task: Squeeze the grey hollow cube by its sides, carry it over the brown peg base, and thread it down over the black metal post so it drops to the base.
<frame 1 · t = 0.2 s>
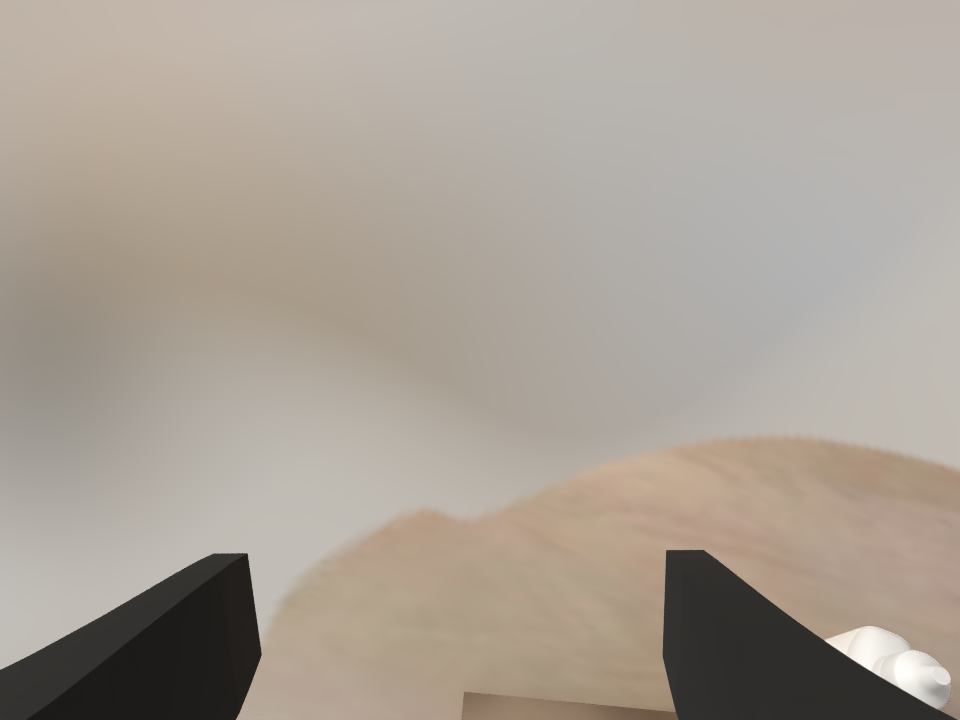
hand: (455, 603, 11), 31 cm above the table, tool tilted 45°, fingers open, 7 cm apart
eye dropper bottle: (815, 699, 37), on the table
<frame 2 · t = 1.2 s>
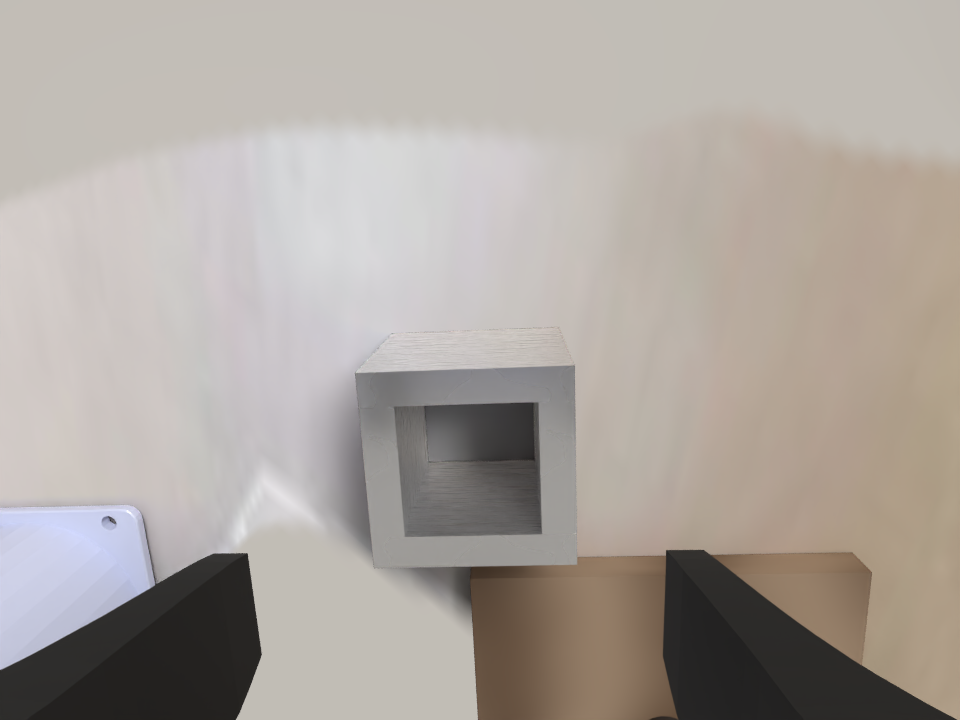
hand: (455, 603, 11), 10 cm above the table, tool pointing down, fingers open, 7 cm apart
brown peg base: (655, 713, 23), on the table
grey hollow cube: (478, 410, 21), on the table
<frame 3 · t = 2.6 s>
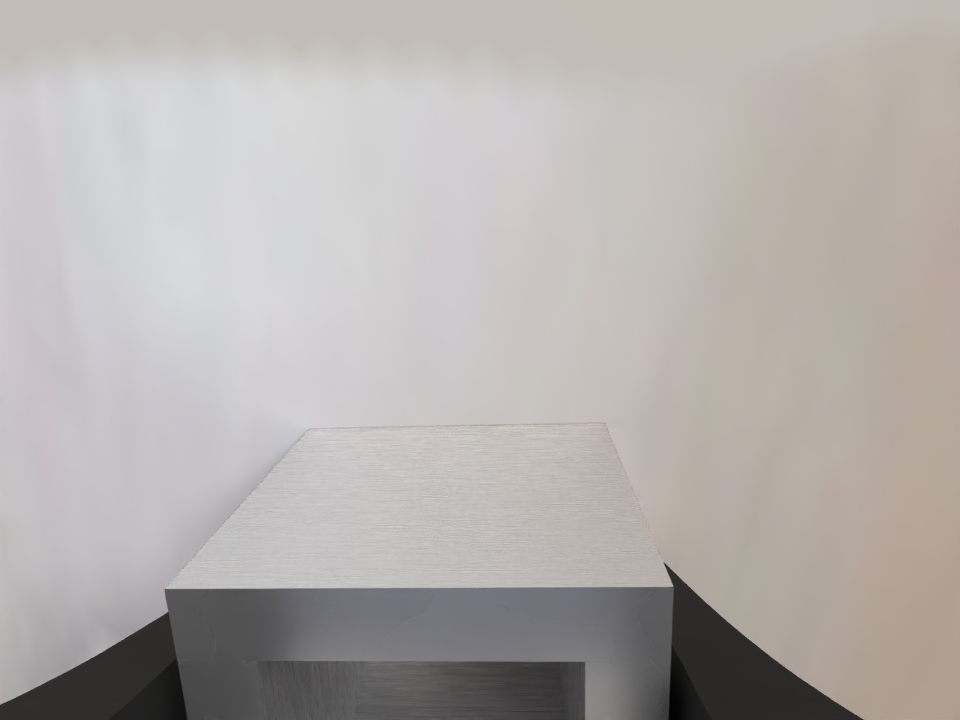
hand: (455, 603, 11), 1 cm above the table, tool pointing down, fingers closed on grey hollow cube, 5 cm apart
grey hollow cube: (462, 559, 12), on the table, touching gripper
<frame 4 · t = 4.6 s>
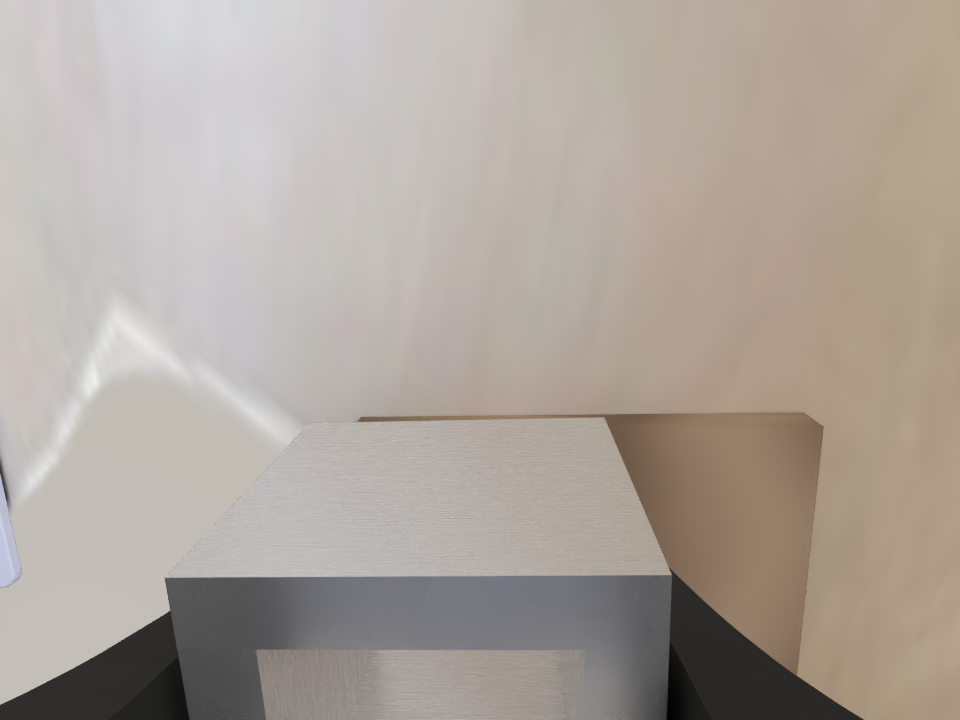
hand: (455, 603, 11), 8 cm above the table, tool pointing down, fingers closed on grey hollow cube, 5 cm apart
brown peg base: (576, 607, 20), on the table
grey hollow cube: (461, 553, 12), point 7 cm above the table, touching gripper
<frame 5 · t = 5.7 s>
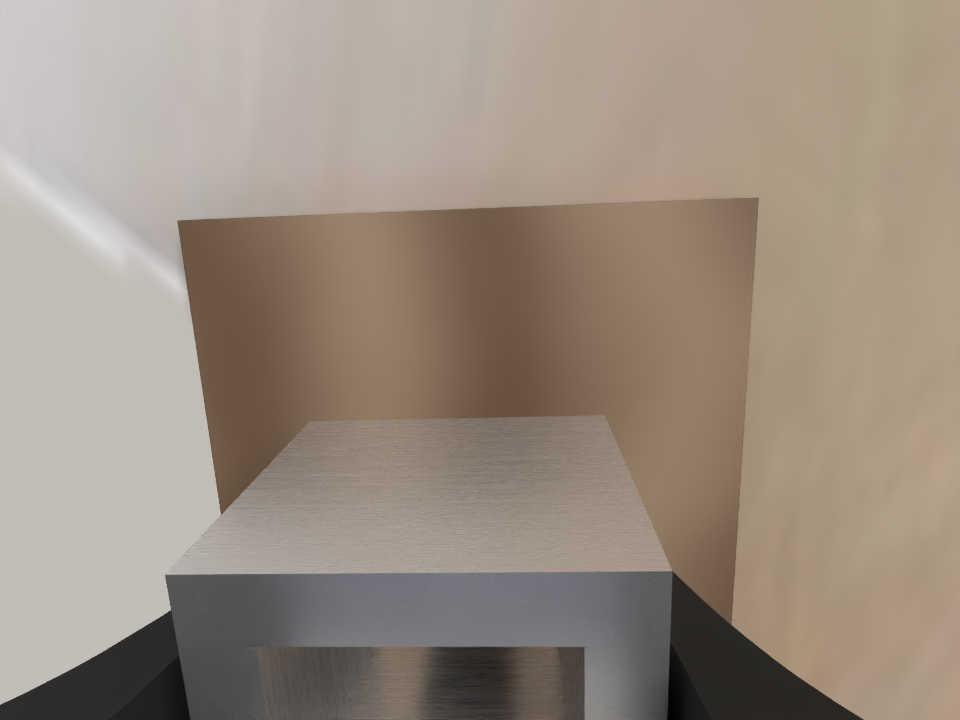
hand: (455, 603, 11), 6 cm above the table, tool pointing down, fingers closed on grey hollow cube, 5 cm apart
brown peg base: (475, 460, 17), on the table
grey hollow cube: (461, 551, 12), point 5 cm above the table, touching gripper
when the fingers open (4 cm above the table, at t = 6.7 s): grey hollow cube drops 1 cm, resting on brown peg base.
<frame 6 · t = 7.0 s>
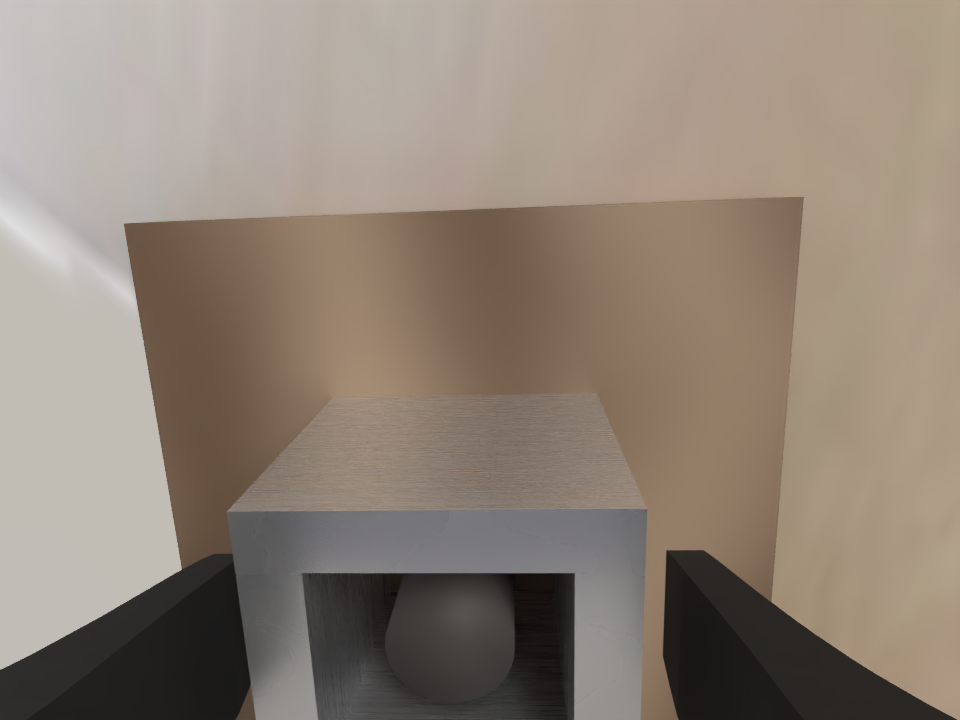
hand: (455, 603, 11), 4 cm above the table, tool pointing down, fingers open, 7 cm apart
brown peg base: (471, 496, 15), on the table
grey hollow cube: (468, 515, 14), point 1 cm above the table, touching brown peg base
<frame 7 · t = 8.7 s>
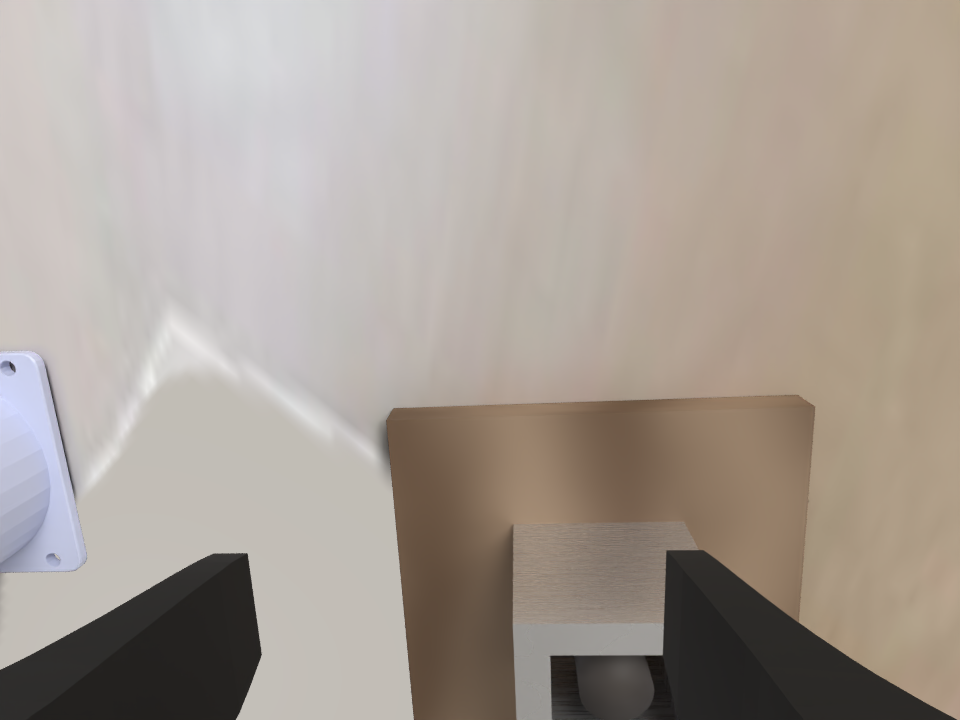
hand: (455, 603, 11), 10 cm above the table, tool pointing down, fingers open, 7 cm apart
brown peg base: (593, 579, 22), on the table
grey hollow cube: (598, 597, 21), point 1 cm above the table, touching brown peg base
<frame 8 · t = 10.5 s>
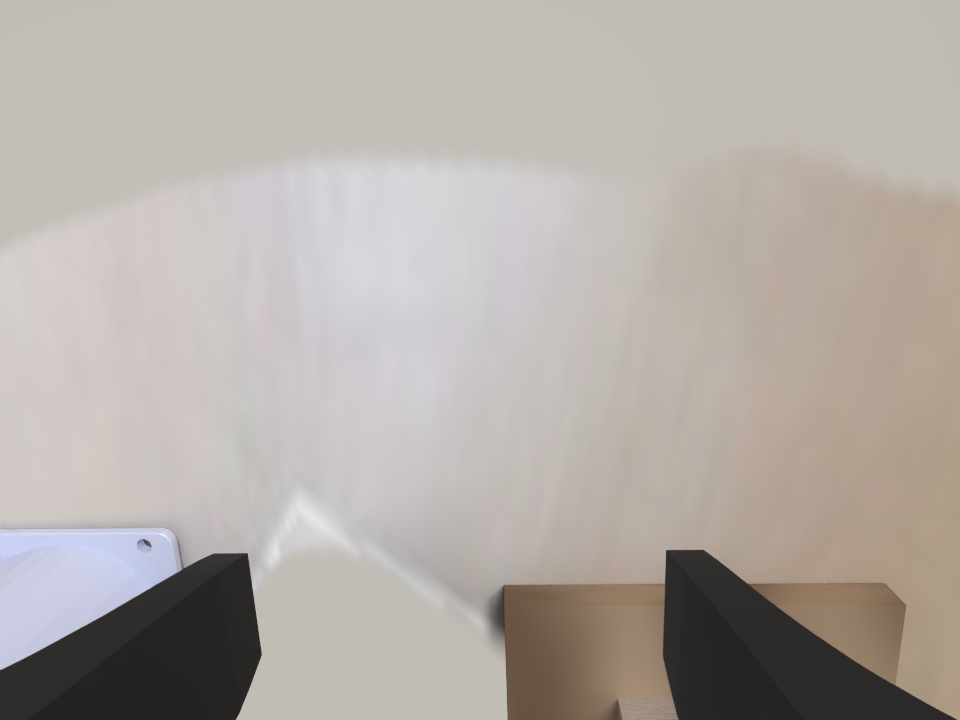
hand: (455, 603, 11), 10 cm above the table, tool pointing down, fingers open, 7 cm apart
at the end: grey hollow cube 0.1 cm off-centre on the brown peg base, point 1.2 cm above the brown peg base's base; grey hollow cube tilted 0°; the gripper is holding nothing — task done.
